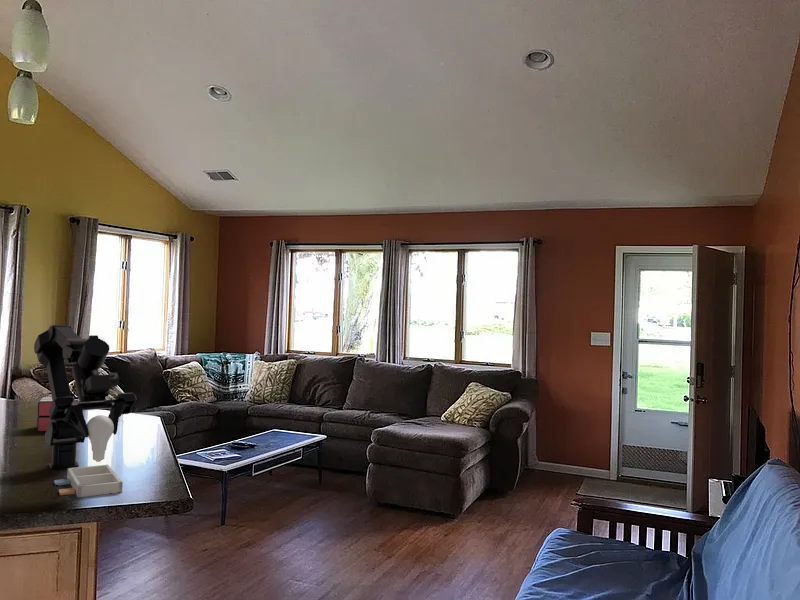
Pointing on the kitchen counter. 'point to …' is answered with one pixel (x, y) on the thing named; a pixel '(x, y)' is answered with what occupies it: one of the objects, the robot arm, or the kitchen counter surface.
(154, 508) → the kitchen counter surface
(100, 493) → the socket board
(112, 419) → the robot arm
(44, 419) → the puzzle cube
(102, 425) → the lightbulb
